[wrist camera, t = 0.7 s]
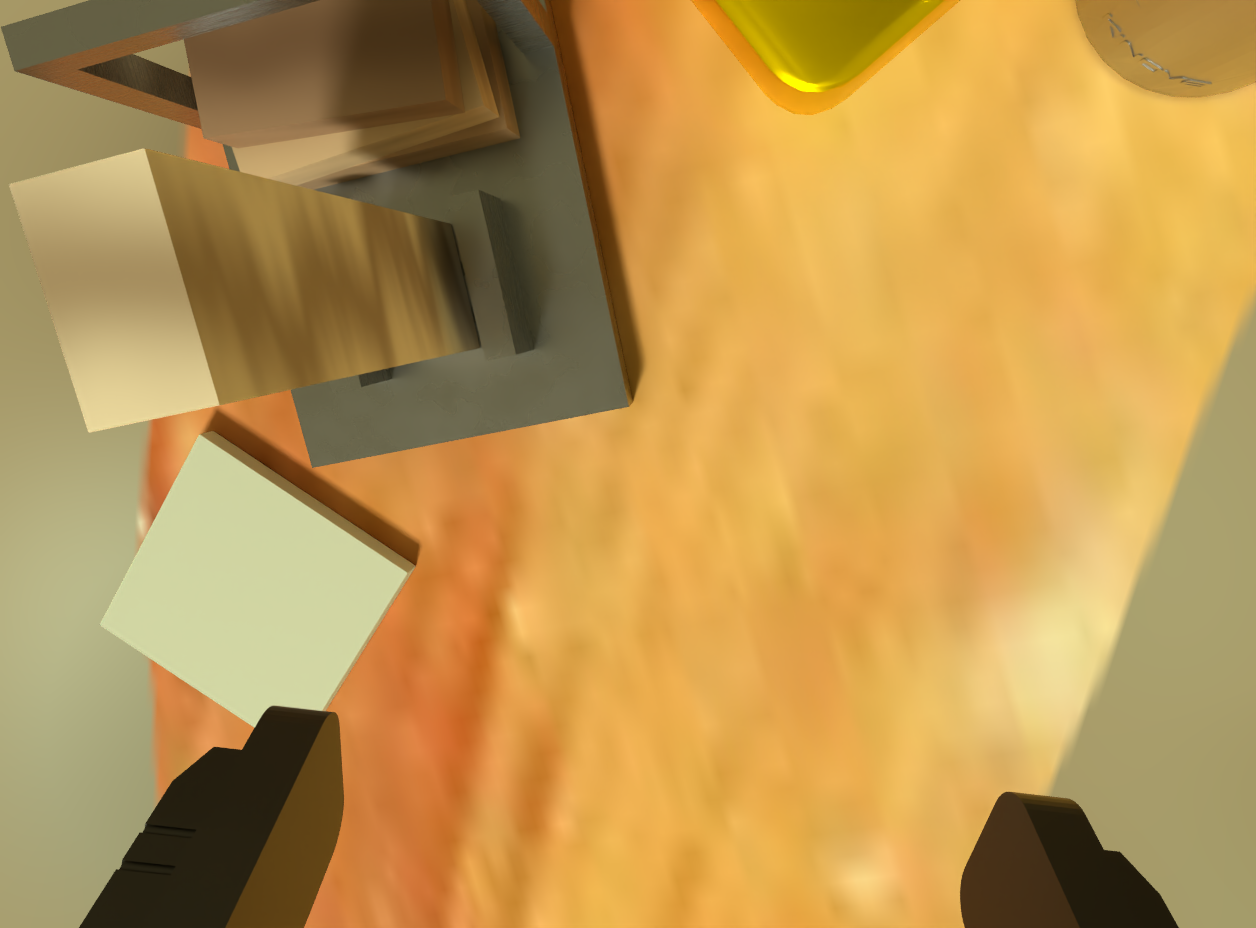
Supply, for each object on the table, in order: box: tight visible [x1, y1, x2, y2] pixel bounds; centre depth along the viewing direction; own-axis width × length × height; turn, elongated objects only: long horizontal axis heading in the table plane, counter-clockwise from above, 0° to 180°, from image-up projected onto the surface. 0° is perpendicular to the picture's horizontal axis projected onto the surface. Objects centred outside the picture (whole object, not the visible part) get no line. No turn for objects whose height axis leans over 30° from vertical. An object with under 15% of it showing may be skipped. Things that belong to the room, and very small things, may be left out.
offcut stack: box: [184, 0, 520, 190], centre depth 30 cm, size 7×10×6 cm
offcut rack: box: [1, 0, 633, 468], centre depth 29 cm, size 20×14×12 cm
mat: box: [100, 431, 416, 728], centre depth 39 cm, size 11×11×1 cm
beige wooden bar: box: [9, 148, 480, 432], centre depth 25 cm, size 5×3×18 cm, turn 12°
